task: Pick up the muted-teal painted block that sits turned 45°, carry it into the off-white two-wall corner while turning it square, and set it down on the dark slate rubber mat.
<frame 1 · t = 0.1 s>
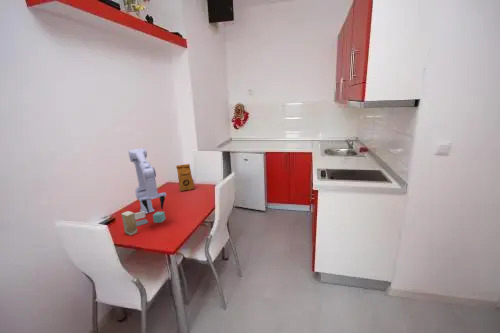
hand: (155, 210, 142), 10 cm above the table, fingers open, 7 cm apart
arena: (137, 223, 150), on the table
coffee package: (187, 189, 206), on the table
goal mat: (141, 222, 150), on the table
skincare box: (131, 233, 139), on the table
teal block: (159, 220, 151), on the table
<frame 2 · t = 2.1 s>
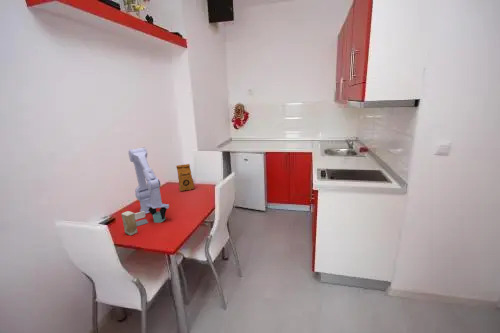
hand: (159, 218, 151), 1 cm above the table, fingers closed on teal block, 5 cm apart
teal block: (159, 220, 151), on the table, touching gripper
everything else where it was.
when the fingers open (3 cm above the table, at t = 6.0 s): teal block stays where it is, resting on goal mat.
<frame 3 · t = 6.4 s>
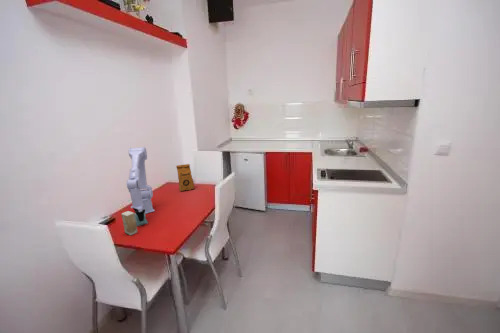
hand: (140, 218, 149), 3 cm above the table, fingers open, 7 cm apart
teal block: (141, 222, 150), resting on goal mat
everything else where it was.
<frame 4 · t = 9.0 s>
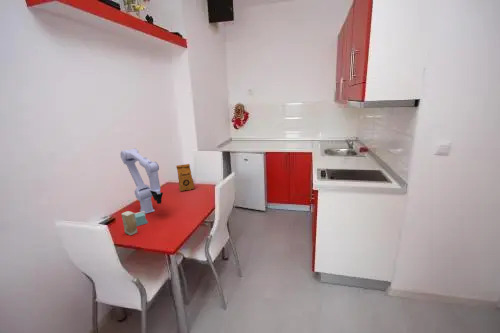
hand: (157, 201, 155), 10 cm above the table, fingers open, 7 cm apart
nothing on the table moved.
at the end: teal block 0.0 cm off-centre on the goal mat, point 0.3 cm above the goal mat's base; teal block tilted 0°; the gripper is holding nothing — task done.
